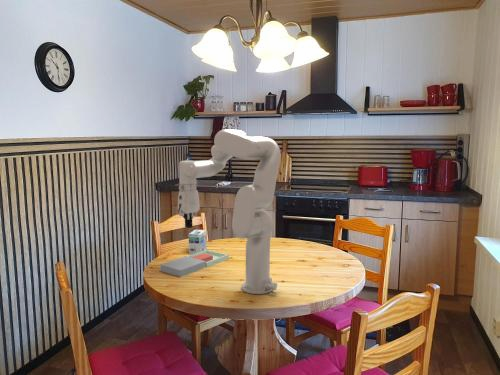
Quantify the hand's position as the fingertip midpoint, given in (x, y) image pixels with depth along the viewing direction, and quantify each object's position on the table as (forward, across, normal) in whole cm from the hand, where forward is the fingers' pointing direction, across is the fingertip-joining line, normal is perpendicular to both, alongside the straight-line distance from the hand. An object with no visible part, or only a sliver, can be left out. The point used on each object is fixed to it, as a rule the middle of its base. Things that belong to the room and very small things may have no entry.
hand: (188, 227), depth 179 cm
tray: (+19, +12, 0) cm, 22 cm away
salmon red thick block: (+18, +9, 0) cm, 20 cm away
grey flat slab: (+19, -4, 0) cm, 19 cm away
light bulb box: (+19, +21, +14) cm, 32 cm away
